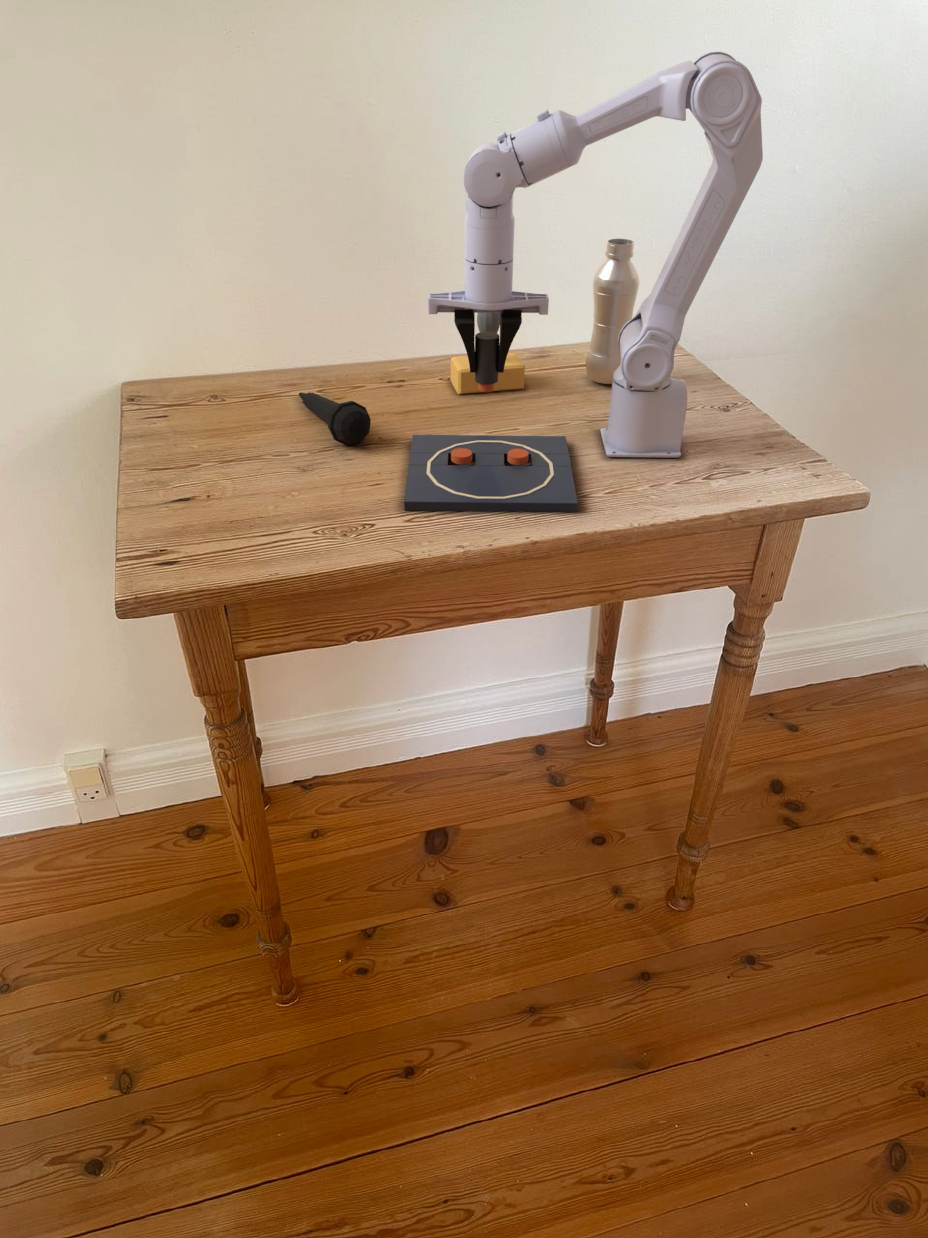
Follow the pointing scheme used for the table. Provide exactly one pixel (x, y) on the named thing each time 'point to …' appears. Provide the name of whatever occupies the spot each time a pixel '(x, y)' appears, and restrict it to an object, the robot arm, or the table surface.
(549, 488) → the face board
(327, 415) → the microphone
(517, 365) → the rubber stamp
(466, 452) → the eye
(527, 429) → the table surface
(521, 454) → the eye
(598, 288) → the plastic bottle
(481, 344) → the marker
